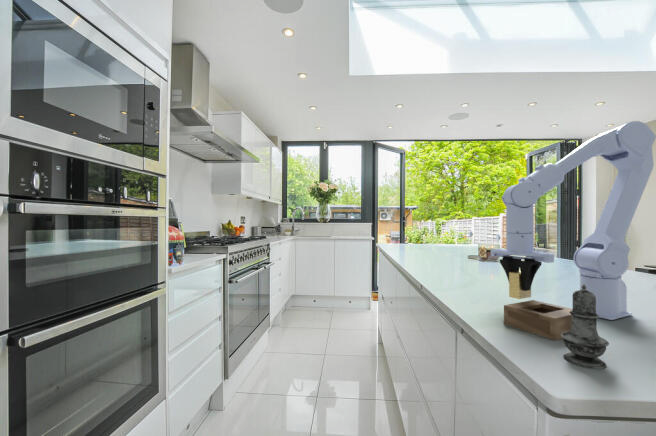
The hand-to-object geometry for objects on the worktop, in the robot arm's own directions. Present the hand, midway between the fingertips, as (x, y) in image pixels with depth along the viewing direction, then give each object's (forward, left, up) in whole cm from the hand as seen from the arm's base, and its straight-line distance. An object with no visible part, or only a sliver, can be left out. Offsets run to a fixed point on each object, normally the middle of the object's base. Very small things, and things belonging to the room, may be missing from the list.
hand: (520, 288), depth 78 cm
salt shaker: (+18, +22, -6) cm, 29 cm away
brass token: (0, 0, -2) cm, 2 cm away
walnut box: (+8, +10, -5) cm, 14 cm away
